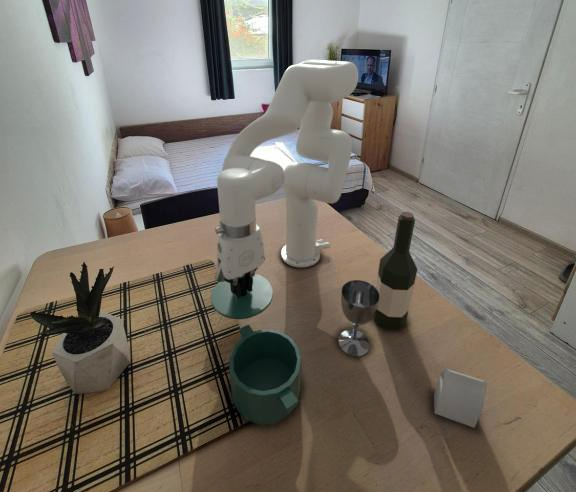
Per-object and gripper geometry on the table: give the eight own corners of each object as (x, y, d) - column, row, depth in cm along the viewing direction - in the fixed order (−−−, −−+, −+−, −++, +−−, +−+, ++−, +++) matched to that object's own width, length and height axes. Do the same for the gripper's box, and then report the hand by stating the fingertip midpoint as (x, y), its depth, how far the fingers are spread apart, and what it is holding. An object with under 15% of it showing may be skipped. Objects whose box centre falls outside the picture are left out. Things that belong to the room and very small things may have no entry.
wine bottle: (407, 310, 84) (429, 210, 72) (403, 335, 77) (427, 228, 65) (375, 300, 87) (390, 202, 75) (368, 323, 80) (384, 219, 68)
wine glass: (373, 333, 78) (381, 284, 71) (369, 362, 71) (377, 311, 65) (340, 324, 80) (345, 276, 74) (333, 351, 73) (338, 301, 67)
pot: (271, 337, 76) (271, 310, 73) (321, 410, 62) (324, 381, 58) (216, 367, 70) (213, 338, 66) (258, 456, 55) (256, 426, 51)
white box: (474, 427, 59) (488, 392, 55) (434, 413, 61) (445, 378, 57) (472, 407, 62) (485, 373, 58) (434, 394, 64) (444, 360, 60)
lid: (255, 268, 87) (254, 248, 84) (284, 304, 76) (284, 281, 73) (202, 289, 80) (199, 267, 77) (226, 332, 68) (223, 308, 66)
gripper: (211, 246, 62) (218, 317, 70) (279, 220, 71) (278, 285, 79) (195, 229, 68) (203, 297, 75) (260, 207, 77) (261, 269, 84)
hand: (242, 290), depth 77 cm, fingers closed on lid, 2 cm apart
